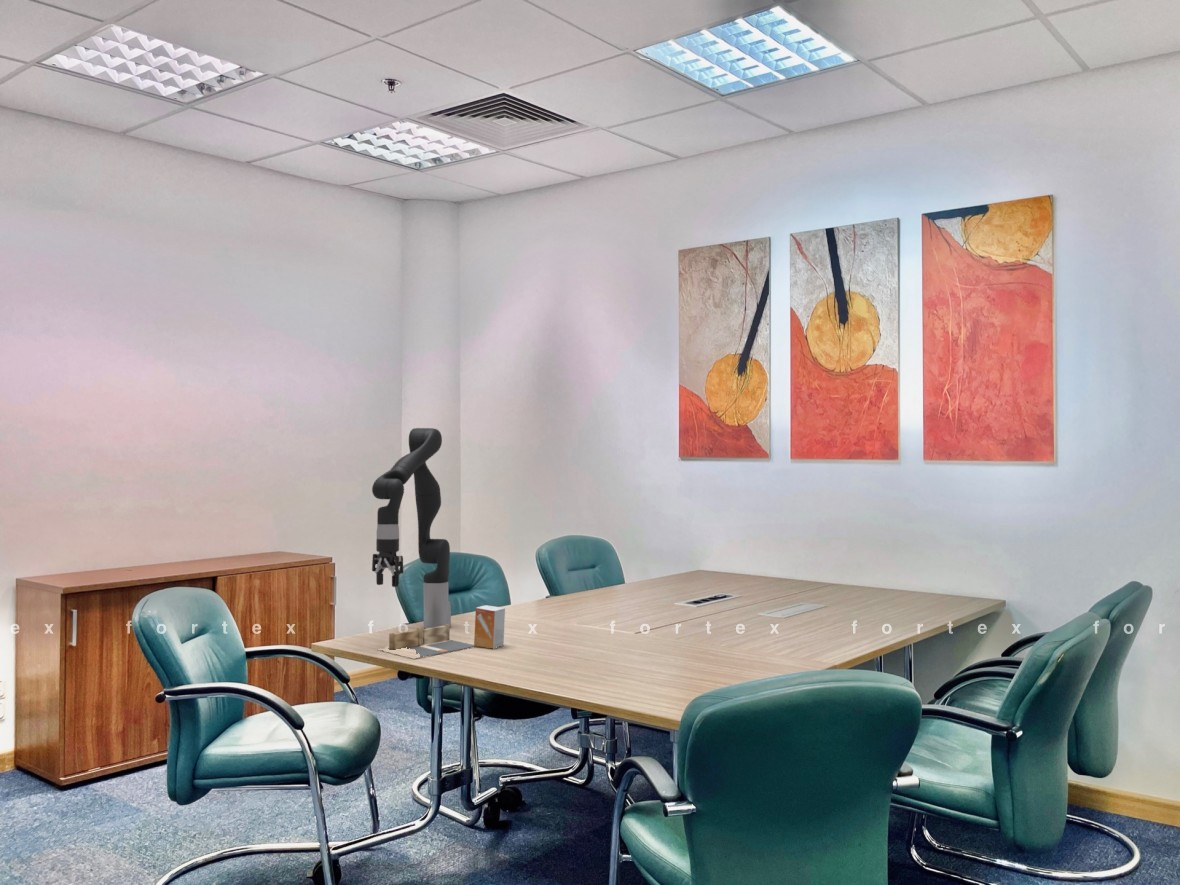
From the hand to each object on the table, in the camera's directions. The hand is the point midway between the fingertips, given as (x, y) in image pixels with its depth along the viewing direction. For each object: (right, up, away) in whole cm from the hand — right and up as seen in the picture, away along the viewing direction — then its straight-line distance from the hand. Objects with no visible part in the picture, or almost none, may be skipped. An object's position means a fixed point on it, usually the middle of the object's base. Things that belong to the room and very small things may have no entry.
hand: (387, 585), depth 329 cm
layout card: (+14, -21, -2) cm, 25 cm away
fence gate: (+6, -20, -4) cm, 21 cm away
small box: (+34, -21, +1) cm, 40 cm away
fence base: (+15, -20, +5) cm, 26 cm away
